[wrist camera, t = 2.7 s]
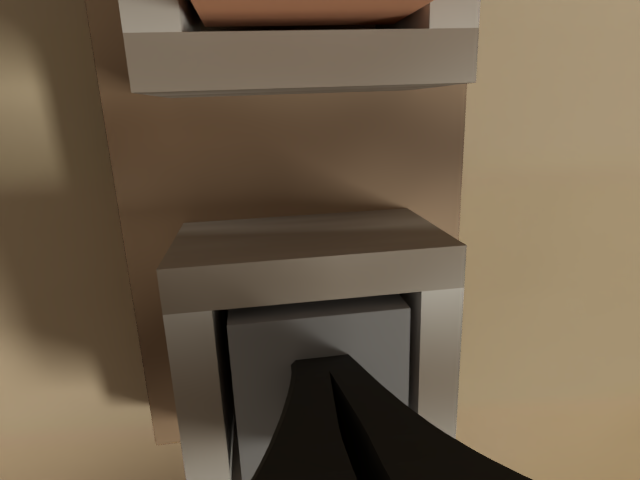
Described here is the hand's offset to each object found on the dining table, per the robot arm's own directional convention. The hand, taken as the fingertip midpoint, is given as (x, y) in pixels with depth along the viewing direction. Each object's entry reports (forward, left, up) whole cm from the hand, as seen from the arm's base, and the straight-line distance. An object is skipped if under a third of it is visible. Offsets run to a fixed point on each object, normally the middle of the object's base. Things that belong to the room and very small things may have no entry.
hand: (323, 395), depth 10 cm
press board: (+4, +3, -6) cm, 8 cm away
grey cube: (0, 0, -4) cm, 4 cm away
